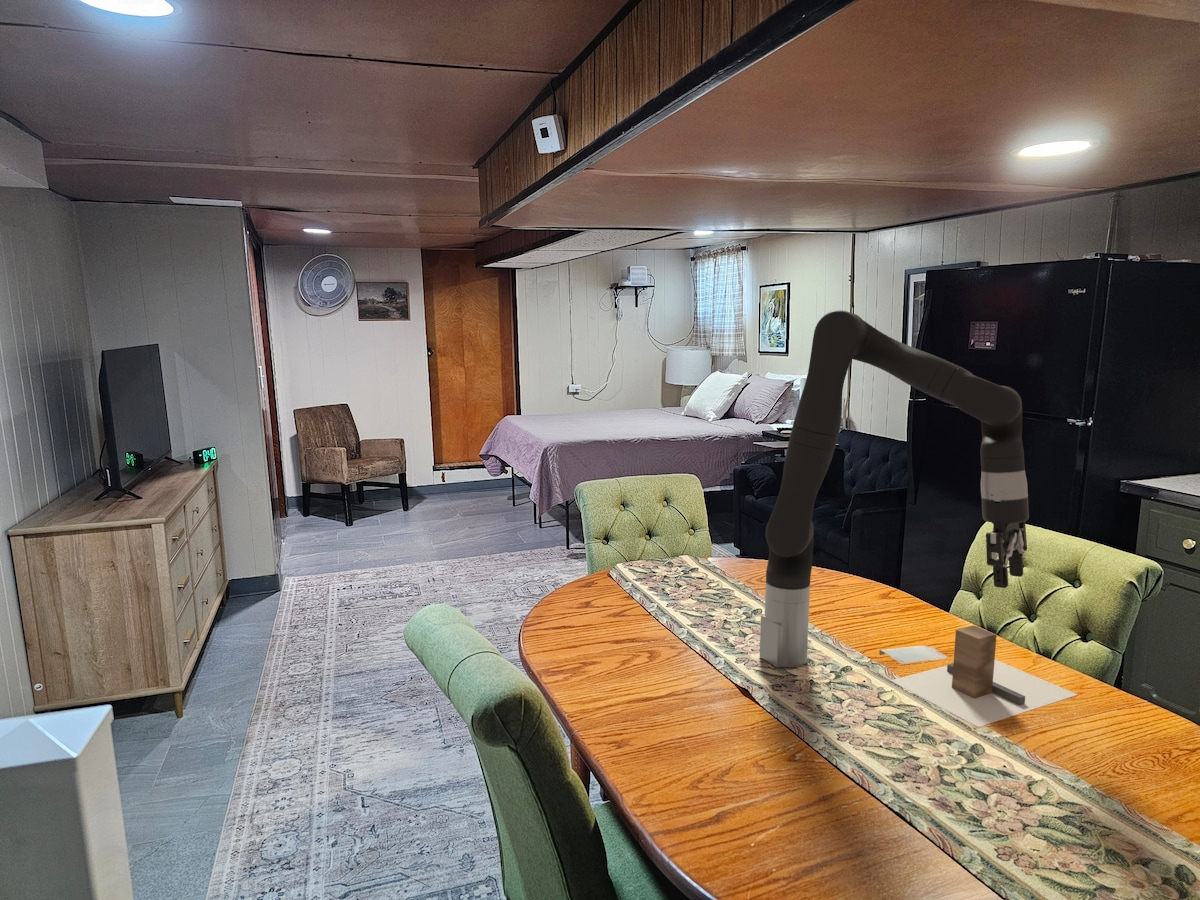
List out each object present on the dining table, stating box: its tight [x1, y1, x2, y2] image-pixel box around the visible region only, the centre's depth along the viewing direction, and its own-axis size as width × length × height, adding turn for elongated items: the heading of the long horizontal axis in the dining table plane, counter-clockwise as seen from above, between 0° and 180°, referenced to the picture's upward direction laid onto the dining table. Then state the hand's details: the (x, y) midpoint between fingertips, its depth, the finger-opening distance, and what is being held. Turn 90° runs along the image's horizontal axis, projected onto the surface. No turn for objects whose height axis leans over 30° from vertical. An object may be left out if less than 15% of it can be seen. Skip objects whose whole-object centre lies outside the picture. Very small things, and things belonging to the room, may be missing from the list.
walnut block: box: [952, 625, 998, 699], centre depth 144 cm, size 5×5×12 cm
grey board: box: [890, 659, 1078, 728], centre depth 146 cm, size 28×20×2 cm
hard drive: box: [879, 645, 948, 665], centre depth 162 cm, size 2×8×12 cm
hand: (1009, 581), depth 137 cm, fingers open, 8 cm apart
